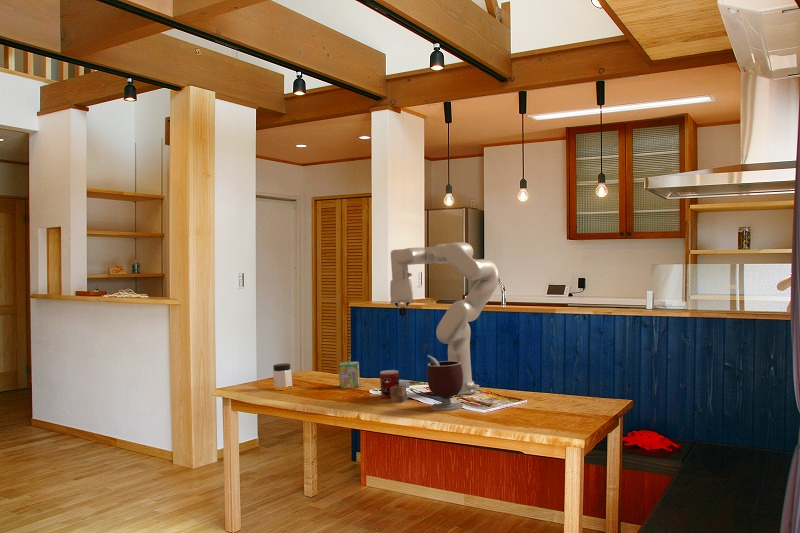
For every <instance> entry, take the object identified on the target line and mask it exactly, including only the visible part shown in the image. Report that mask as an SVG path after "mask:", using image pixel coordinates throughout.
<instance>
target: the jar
mask: <svg viewBox="0 0 800 533" xmlns="http://www.w3.org/2000/svg"><path fill="white" fill-rule="evenodd" d="M272 369H273V370H272V374H273V387H274V386H275V387H288V386H292V387H293V376H292V369H291V364H290V363H287V362H286V363H275V364H274V365H273V368H272Z"/></svg>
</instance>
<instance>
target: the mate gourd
mask: <svg viewBox="0 0 800 533" xmlns="http://www.w3.org/2000/svg"><path fill="white" fill-rule="evenodd" d="M426 357H427V358H429V360H431V362H429V363H427V368H426V369H427V370H426V379H427V384H428V385H427V386H428V388H429V390H430V391H431V393H432V394H433V395H434V396H436V397H439V398H441V399H442V402H439V403H435V404H432V405H431V406H430V407H431V410H433V411H439V412H446V411H447V412H450V411H457V410H460V409H463V408H464V404H463V403H461V402H455V401H454V402H453V401H452V400H451V398H452V397H454V396H456V394H458V393H459V392H460V390H461V389H462V385H463V371H462V366H461V362H458V361H448V360H443V361H441V360H440V361H438V360H437V359H436V358H435V357H433V356H431V355H430V354H427V356H426Z"/></svg>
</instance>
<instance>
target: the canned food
mask: <svg viewBox="0 0 800 533" xmlns="http://www.w3.org/2000/svg"><path fill="white" fill-rule="evenodd" d="M399 380H400V377H399V370H396V369H388V370H387V369H386V370H382V371H379V381H380V394H381V398H382V399H390V400H392V399H391V387H393V386H399Z"/></svg>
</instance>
